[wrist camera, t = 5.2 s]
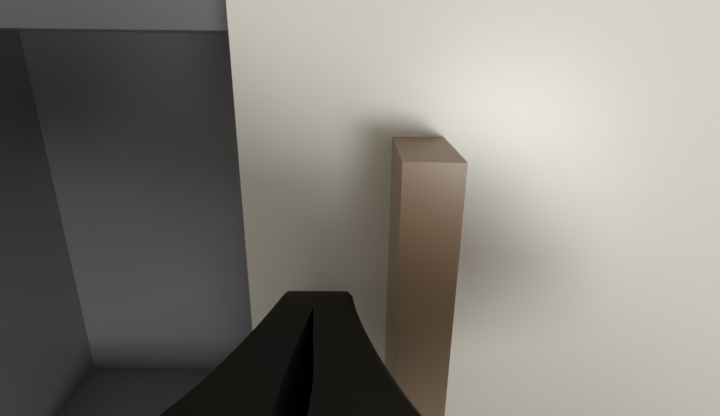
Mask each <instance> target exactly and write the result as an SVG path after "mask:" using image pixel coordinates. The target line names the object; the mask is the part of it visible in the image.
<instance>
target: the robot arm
mask: <svg viewBox="0 0 720 416" xmlns="http://www.w3.org/2000/svg"><path fill="white" fill-rule="evenodd" d="M159 416H422V415H421V414H420V413H419V412H418V410H417V409H416V408H415V407H414V405H413V404H412V403H411V402H410V400H409V399H408V398H407V396H406V395H405V394H404V392H403V391H402V390H401V388H400V387H399V386H398V384H397V383H396V381H395V380H394V378H393V377H392V375H391V374H390V372H389V371H388V369H387V368H386V366H385V365H384V363H383V361H382V360H381V358H380V357H379V355H378V353H377V351H376V350H375V348H374V346H373V344H372V342H371V341H370V339H369V337H368V335H367V333H366V331H365V329H364V327H363V325H362V323H361V321H360V318H359V316H358V314H357V311H356V308H355V305H354V301H353V296H352V295H351V294H350V293H349V292H348V291H287V292H286V293H285V294H284V295H283V296H282V297H281V298H280V300H279V301H278V302H277V303H276V304H275V306H274V307H273V308H272V309H271V310H270V312H269V313H268V314H267V315H266V316H265V317H264V318H263V320H262V321H261V322H260V323H259V324H258V325H257V326H256V328H255V329H254V330H253V331H252V332H251V333H250V334H249V335H248V336H247V337H246V338H245V339H244V340H243V341H242V342H241V343H240V345H239V346H238V347H237V348H236V349H235V350H234V351H233V352H232V353H231V354H230V355H229V356H228V357H227V358H225V359H224V360H223V361H222V362H221V363H220V364H219V365H218V366H217V367H216V368H215V369H214V370H213V371H212V372H211V373H210V374H209V375H207V376H206V377H205V378H204V379H203V380H202V381H201V382H200V383H199V384H197V385H196V386H195V387H194V388H193V389H192V390H191V391H189V392H188V393H187V394H186V395H185V396H183V397H182V398H181V399H180V400H178V401H177V402H176V403H174V404H173V405H172V406H171V407H169V408H168V409H167V410H165V411H164V412H163V413H162V414H160V415H159Z"/></svg>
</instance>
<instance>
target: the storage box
mask: <svg viewBox="0 0 720 416" xmlns="http://www.w3.org/2000/svg"><path fill="white" fill-rule="evenodd" d="M251 332H252V319H251V307H250V294H249V282H248V269H247V257H246V245H245V232H244V220H243V207H242V195H241V183H240V170H239V158H238V145H237V133H236V121H235V108H234V96H233V83H232V71H231V58H230V46H229V34H228V21H227V9H226V0H0V416H159V415H160V414H162V413H163V412H164V411H165V410H167V409H168V408H169V407H171V406H172V405H173V404H174V403H176V402H177V401H178V400H180V399H181V398H182V397H183V396H185V395H186V394H187V393H188V392H189V391H191V390H192V389H193V388H194V387H195V386H196V385H197V384H199V383H200V382H201V381H202V380H203V379H204V378H205V377H206V376H207V375H209V374H210V373H211V372H212V371H213V370H214V369H215V368H216V367H217V366H218V365H219V364H220V363H221V362H222V361H223V360H224V359H225V358H227V357H228V356H229V355H230V354H231V353H232V352H233V351H234V350H235V349H236V348H237V347H238V346H239V345H240V343H241V342H242V341H243V340H244V339H245V338H246V337H247V336H248V335H249V334H250V333H251Z"/></svg>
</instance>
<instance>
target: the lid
mask: <svg viewBox="0 0 720 416" xmlns="http://www.w3.org/2000/svg"><path fill="white" fill-rule="evenodd" d="M226 9H227V21H228V34H229V46H230V58H231V71H232V83H233V96H234V108H235V121H236V133H237V145H238V158H239V170H240V183H241V195H242V207H243V220H244V232H245V245H246V257H247V269H248V282H249V294H250V307H251V319H252V331H253V330H254V329H255V328H256V326H257V325H258V324H259V323H260V322H261V321H262V320H263V318H264V317H265V316H266V315H267V314H268V313H269V312H270V310H271V309H272V308H273V307H274V306H275V304H276V303H277V302H278V301H279V300H280V298H281V297H282V296H283V295H284V294H285V293H286V292H287V291H348V292H349V293H350V294H351V295H352V296H353V301H354V305H355V308H356V311H357V314H358V316H359V318H360V321H361V323H362V325H363V327H364V329H365V331H366V333H367V335H368V337H369V339H370V341H371V342H372V344H373V346H374V348H375V350H376V351H377V353H378V355H379V357H380V358H381V360H382V361H383V363H384V365H385V366H386V368H387V369H388V371H389V372H390V374H391V375H392V377H393V378H394V380H395V381H396V383H397V384H398V386H399V387H400V388H401V390H402V391H403V392H404V394H405V395H406V396H407V398H408V399H409V400H410V402H411V403H412V404H413V405H414V407H415V408H416V409H417V410H418V412H419V413H420V414H421V415H422V416H720V0H226Z"/></svg>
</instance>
